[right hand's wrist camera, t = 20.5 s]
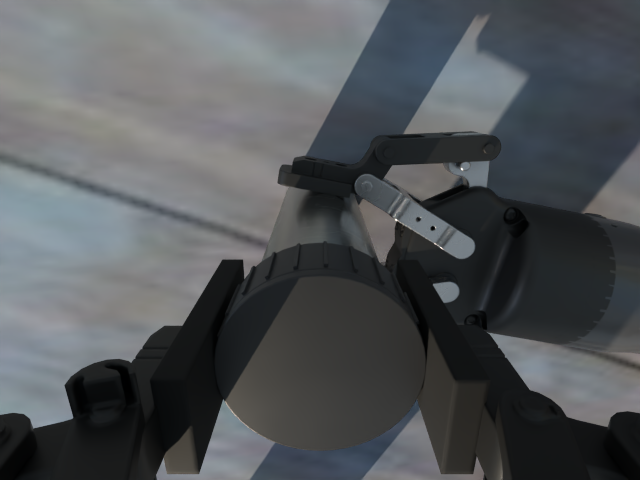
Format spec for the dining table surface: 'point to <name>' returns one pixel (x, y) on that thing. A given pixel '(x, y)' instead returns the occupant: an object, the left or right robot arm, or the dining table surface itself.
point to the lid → (320, 348)
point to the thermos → (319, 222)
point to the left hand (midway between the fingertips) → (272, 224)
